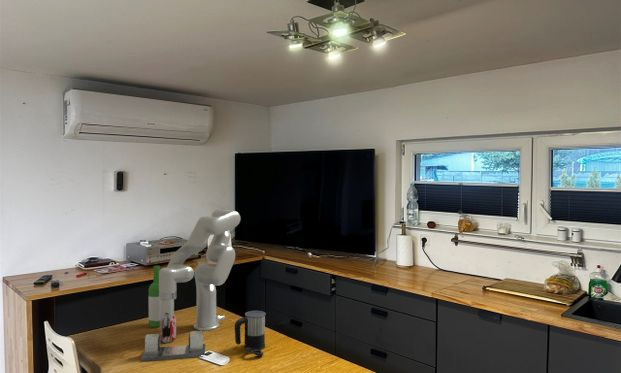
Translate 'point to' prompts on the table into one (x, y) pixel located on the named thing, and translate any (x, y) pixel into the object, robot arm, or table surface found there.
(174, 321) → the soda can
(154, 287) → the wine bottle
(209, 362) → the table surface
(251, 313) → the milk frother
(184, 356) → the rail
